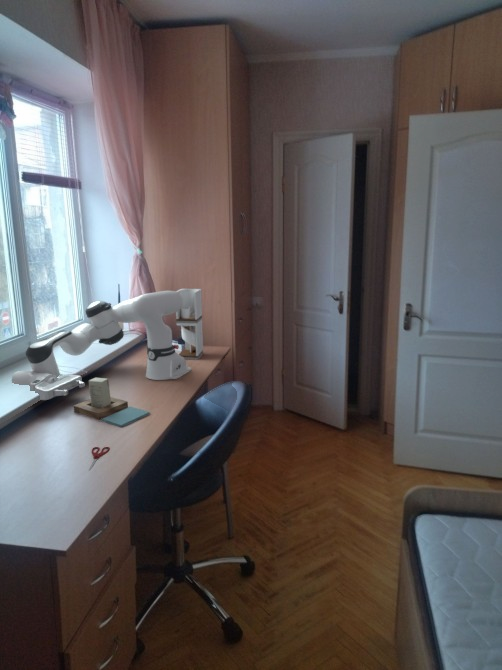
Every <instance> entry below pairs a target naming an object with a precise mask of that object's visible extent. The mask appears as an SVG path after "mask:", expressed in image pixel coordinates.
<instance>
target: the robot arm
mask: <svg viewBox="0 0 502 670" xmlns="http://www.w3.org/2000/svg"><path fill="white" fill-rule="evenodd" d="M176 291H177V290H176ZM176 291H175V290H162V291H156V292H148V293H143V294H141V295H138V296H136V297H132V298H129V299H125V300H122V301H120V302H119V303H118V304H115V305H114V306H112V303H111V302H107V301H103V300H99V301H94V302H92V303H90V304H89V305H88V306H87V307H86V309H85V315H86V318H88V320H89V322H90V323H86V322H85V323H81V324H79V325H77V326H76V327H74V328H73V329H72V330H69V329H66V330H65V329H64V330H60V331H58V332H55V333H53V334H52V335H49V336H48V337H46V338H42V339H41V340H39V341H36V342H33V343H31V344H29V345H28V347H27V349H26V351H25V356H26V358H27V360H28V362H29V364H30V367H31V369H30V370H18V371H15V372H14V373H13V374H12V377H11V384H12V383H14V384H19V385H29V386H30V391H35V393H38V394H39V395H40V400H39V401H47V400H48V401H49V400H51V399H53V398H56V397H59V396H61V397H62V396H68V395H69V391H70V390H72V389H74V388H76V387H78V388H84V387H85V386H86V383H85V382H84V381H83V379H82V376H81V375H78V374H66V375H62V376H61V373H60V368H59V366H58V363H57V360H56V358H55V357H56V356H55V354H54V348H55V347H58V346H59V347H60V348H61V349H62V351H63V352H65V354H67V355H69V356H81V355H82V354H84V353H85V352H86V351H87V350H88V349H89V348H90V347H91V346H92V344H93V343H94V342H96V341H98V343H99V344H102V345H103V344H104V345H106V346H113V345H116V344H118V343H119V342H120V341H121V340H122V339H124V331H123V329H122V328H121V325H120V323H125V324H127V323H128V324H129V323H131V324H132V323H137V322H142V324H143V326H144V327H145V331H146V338H147V341H146V342H147V346H146V354H147V360H146V370H145V373H146V374H145V378H146V379H149V380H153V381H154V380H155V381H165V380H177V379H179V378H181V377H182V376H184V375H185V374H187V373H189V372H191V371H192V368H191V367H190V366H188V365H187V362H186V359H184V358H183V357H182V356H180V355H179V353H178V352H176V350H179V348H180V345H179V344H173V330H172V328H171V327H170V326H169V325H168V324H165V322H164V319H163V316H169V315H173V314H176V312H177V311H179V310H180V309H181V308H182V305H183V300H182V297H181V295H180V294H179V293H178V292H176ZM59 375H60V376H59ZM58 376H59V378H57V377H58Z"/></svg>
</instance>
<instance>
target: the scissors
mask: <svg viewBox="0 0 502 670" xmlns="http://www.w3.org/2000/svg"><path fill="white" fill-rule="evenodd" d="M105 449H106V451H104V450H105ZM95 450H96V451H95ZM100 450H101V451H100ZM110 450H111V448H110V446H104V447H102V449H100V447H99V446H94V447H92V449H91V454H92V456H93V460H92V463H91V464H90V467H89V471H90V470H91V469H92V468H93V466H94V464H96V461H97V460H98V459H100V458H101V457H102V456H104V455H105V454H107V453H108V452H109V451H110ZM99 451H100V452H99Z"/></svg>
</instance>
